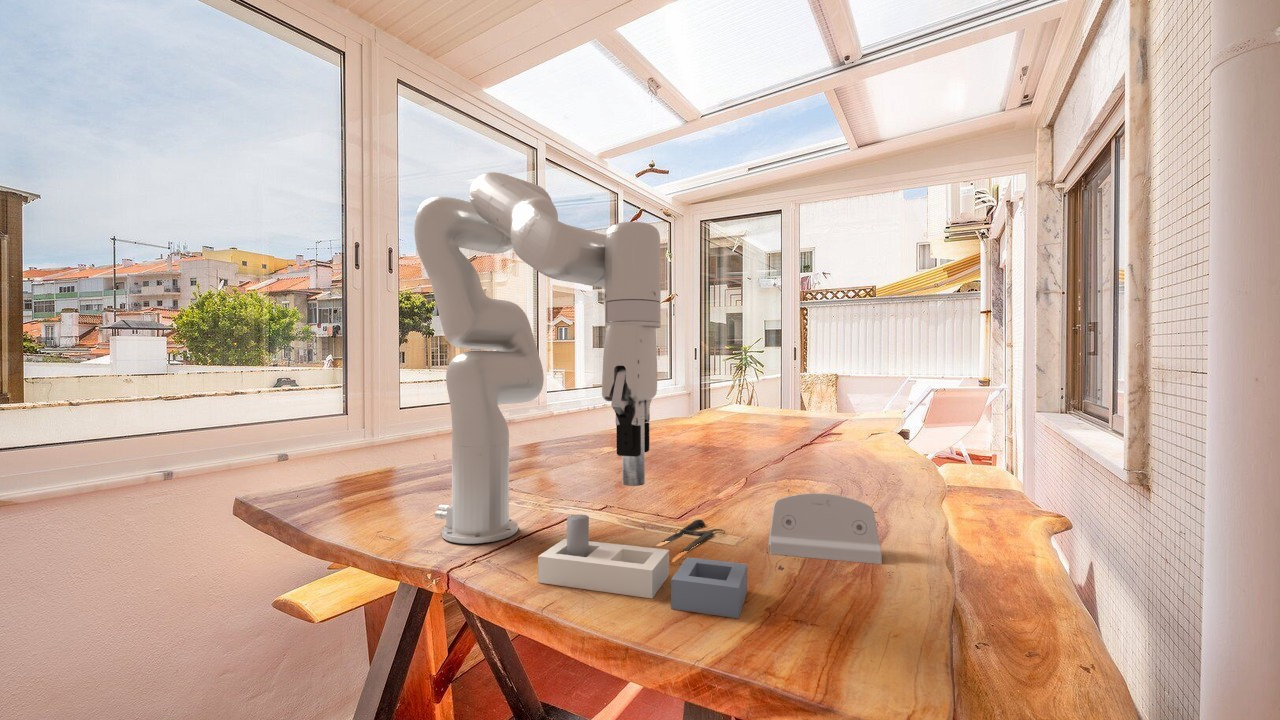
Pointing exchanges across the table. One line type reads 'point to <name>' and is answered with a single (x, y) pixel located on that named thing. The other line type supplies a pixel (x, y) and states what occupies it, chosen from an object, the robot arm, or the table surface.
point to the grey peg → (635, 465)
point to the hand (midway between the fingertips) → (633, 452)
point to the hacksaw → (689, 529)
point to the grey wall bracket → (824, 528)
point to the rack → (602, 564)
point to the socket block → (709, 587)
